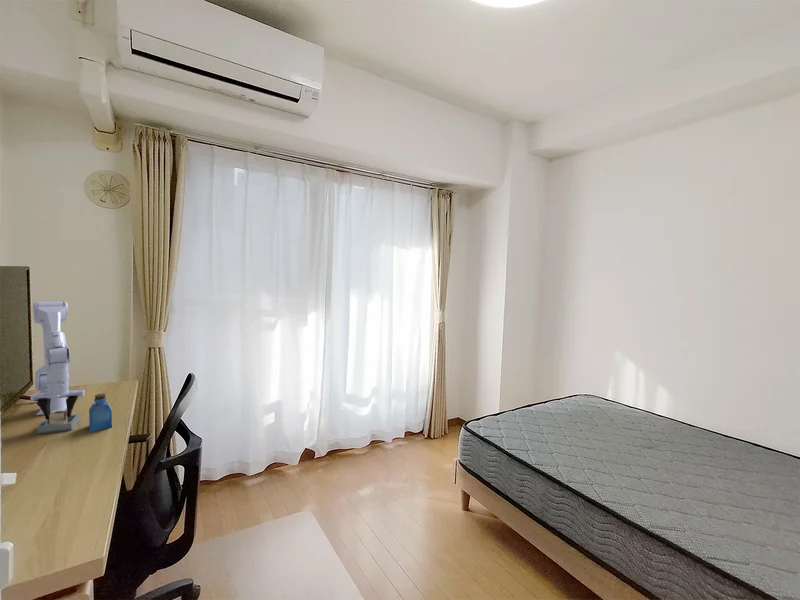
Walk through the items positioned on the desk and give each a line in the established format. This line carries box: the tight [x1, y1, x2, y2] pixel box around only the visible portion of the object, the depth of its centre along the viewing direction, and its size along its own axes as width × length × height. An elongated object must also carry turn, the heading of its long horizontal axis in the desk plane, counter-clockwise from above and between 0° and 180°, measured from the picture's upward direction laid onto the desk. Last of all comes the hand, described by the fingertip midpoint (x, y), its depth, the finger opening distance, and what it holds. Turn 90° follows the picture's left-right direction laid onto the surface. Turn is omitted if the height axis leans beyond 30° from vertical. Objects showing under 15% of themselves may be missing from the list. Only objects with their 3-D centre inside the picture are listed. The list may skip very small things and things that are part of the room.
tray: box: [36, 413, 80, 435], centre depth 137 cm, size 9×9×2 cm
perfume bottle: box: [88, 393, 113, 432], centre depth 139 cm, size 6×6×12 cm
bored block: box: [49, 409, 68, 425], centre depth 137 cm, size 4×4×5 cm
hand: (58, 417), depth 137 cm, fingers open, 5 cm apart
